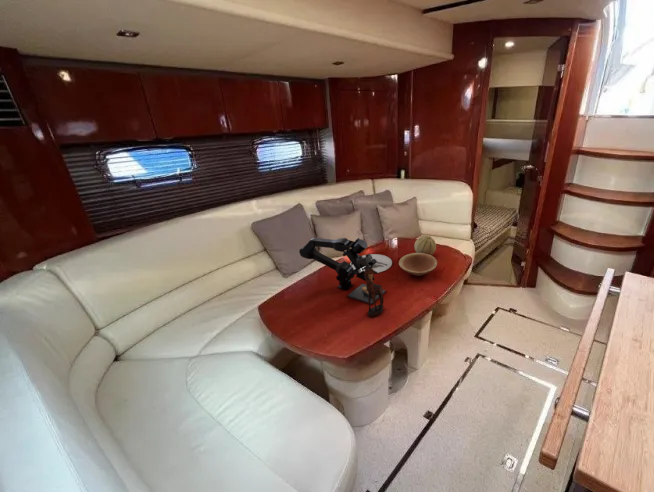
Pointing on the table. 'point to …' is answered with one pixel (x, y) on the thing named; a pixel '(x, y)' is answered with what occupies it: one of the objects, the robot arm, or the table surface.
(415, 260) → the bowl
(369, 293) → the statue
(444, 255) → the table surface
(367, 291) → the tan wooden tall post
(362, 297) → the board
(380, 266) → the plate
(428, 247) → the cantaloupe
